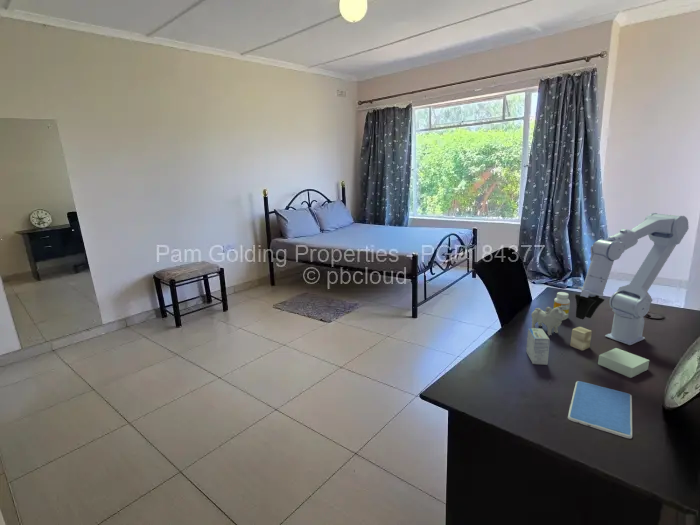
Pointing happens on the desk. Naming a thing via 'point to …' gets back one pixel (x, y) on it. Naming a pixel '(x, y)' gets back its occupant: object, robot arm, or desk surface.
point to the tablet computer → (602, 409)
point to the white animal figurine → (549, 318)
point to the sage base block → (623, 362)
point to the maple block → (580, 338)
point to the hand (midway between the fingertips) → (583, 317)
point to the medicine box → (537, 346)
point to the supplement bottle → (562, 301)
